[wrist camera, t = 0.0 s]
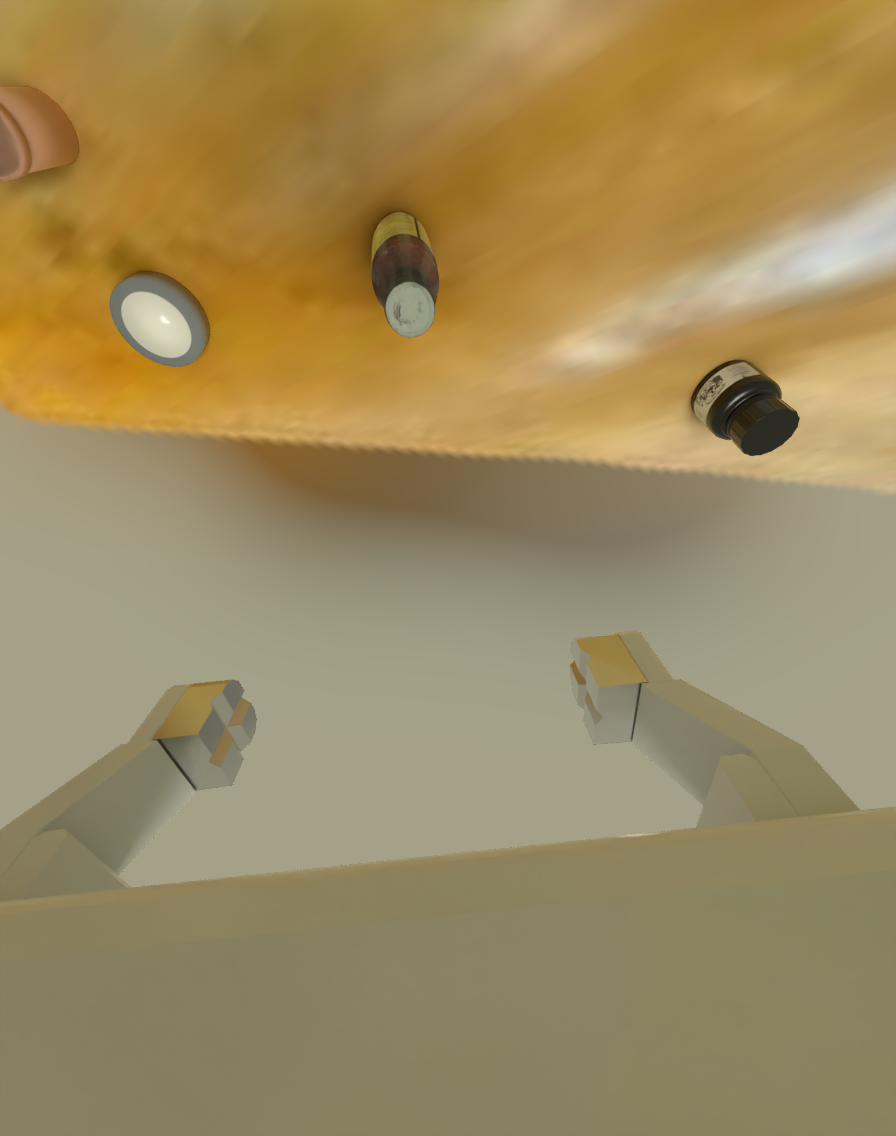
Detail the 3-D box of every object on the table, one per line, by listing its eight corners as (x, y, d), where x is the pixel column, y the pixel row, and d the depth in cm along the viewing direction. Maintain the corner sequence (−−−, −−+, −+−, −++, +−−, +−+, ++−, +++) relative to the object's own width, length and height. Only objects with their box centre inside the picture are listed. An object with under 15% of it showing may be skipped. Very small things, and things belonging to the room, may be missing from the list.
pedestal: (125, 251, 44) (111, 259, 42) (217, 303, 48) (209, 313, 46) (118, 329, 49) (106, 339, 47) (201, 370, 53) (194, 381, 51)
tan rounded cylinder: (5, 65, 34) (-77, 59, 28) (81, 116, 37) (20, 120, 31) (10, 138, 37) (-63, 147, 31) (80, 181, 40) (24, 196, 34)
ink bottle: (732, 345, 56) (785, 386, 48) (771, 371, 59) (827, 413, 52) (675, 407, 63) (714, 452, 55) (713, 428, 66) (755, 473, 58)
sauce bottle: (363, 257, 46) (349, 322, 33) (388, 193, 42) (383, 238, 29) (415, 293, 49) (420, 365, 36) (442, 236, 45) (460, 294, 32)
